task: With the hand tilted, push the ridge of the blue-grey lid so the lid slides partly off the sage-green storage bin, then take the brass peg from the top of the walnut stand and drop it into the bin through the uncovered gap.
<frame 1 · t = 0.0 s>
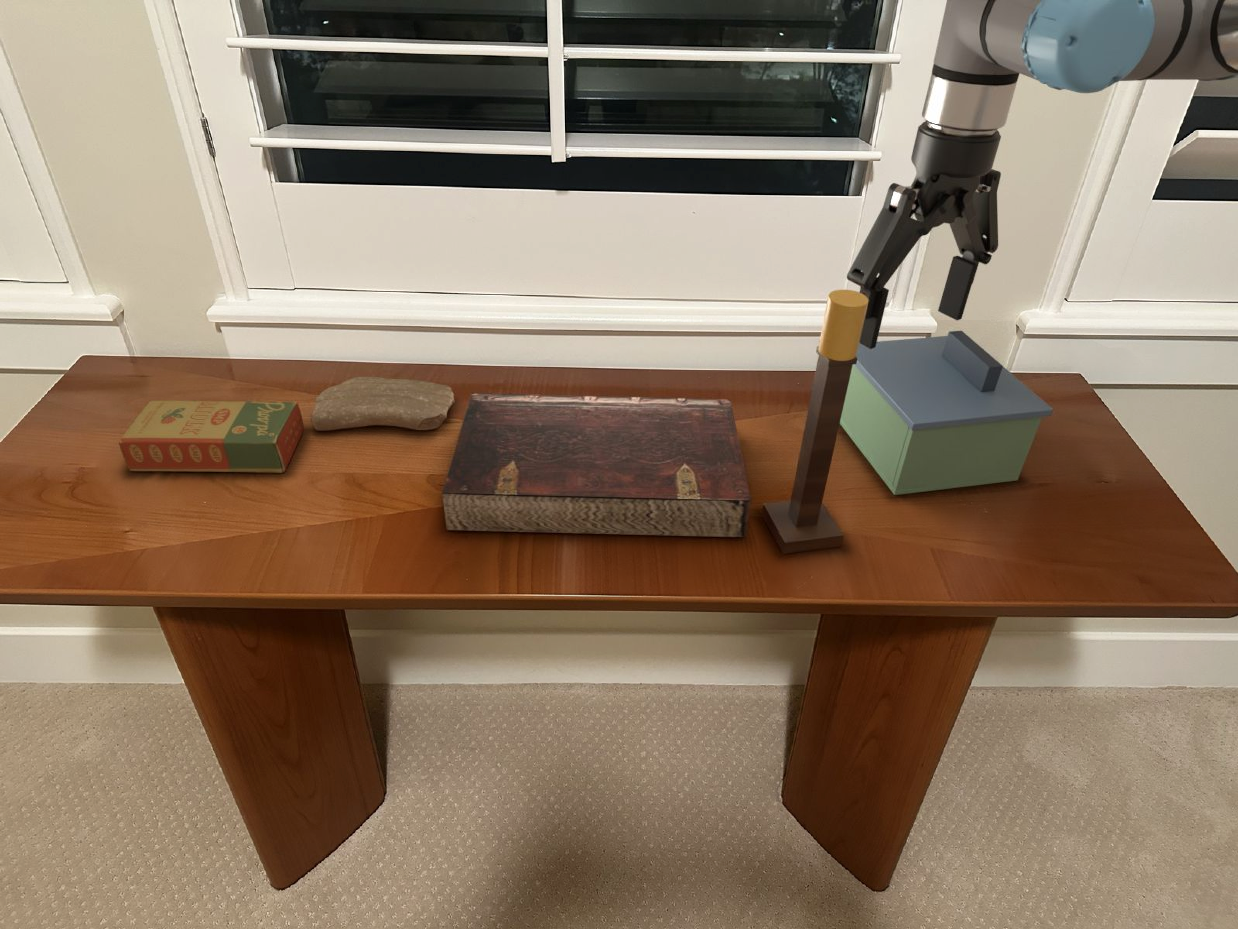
hand: (907, 328, 91), 12 cm above the table, tool pointing down, fingers open, 13 cm apart
carton: (222, 452, 90), on the table
lid: (940, 381, 89), point 9 cm above the table, touching bin
stand: (800, 530, 82), on the table
decorative stone: (388, 416, 97), on the table
bin: (920, 446, 94), on the table
hardback book: (598, 479, 88), on the table
peg: (837, 351, 70), point 20 cm above the table, touching stand
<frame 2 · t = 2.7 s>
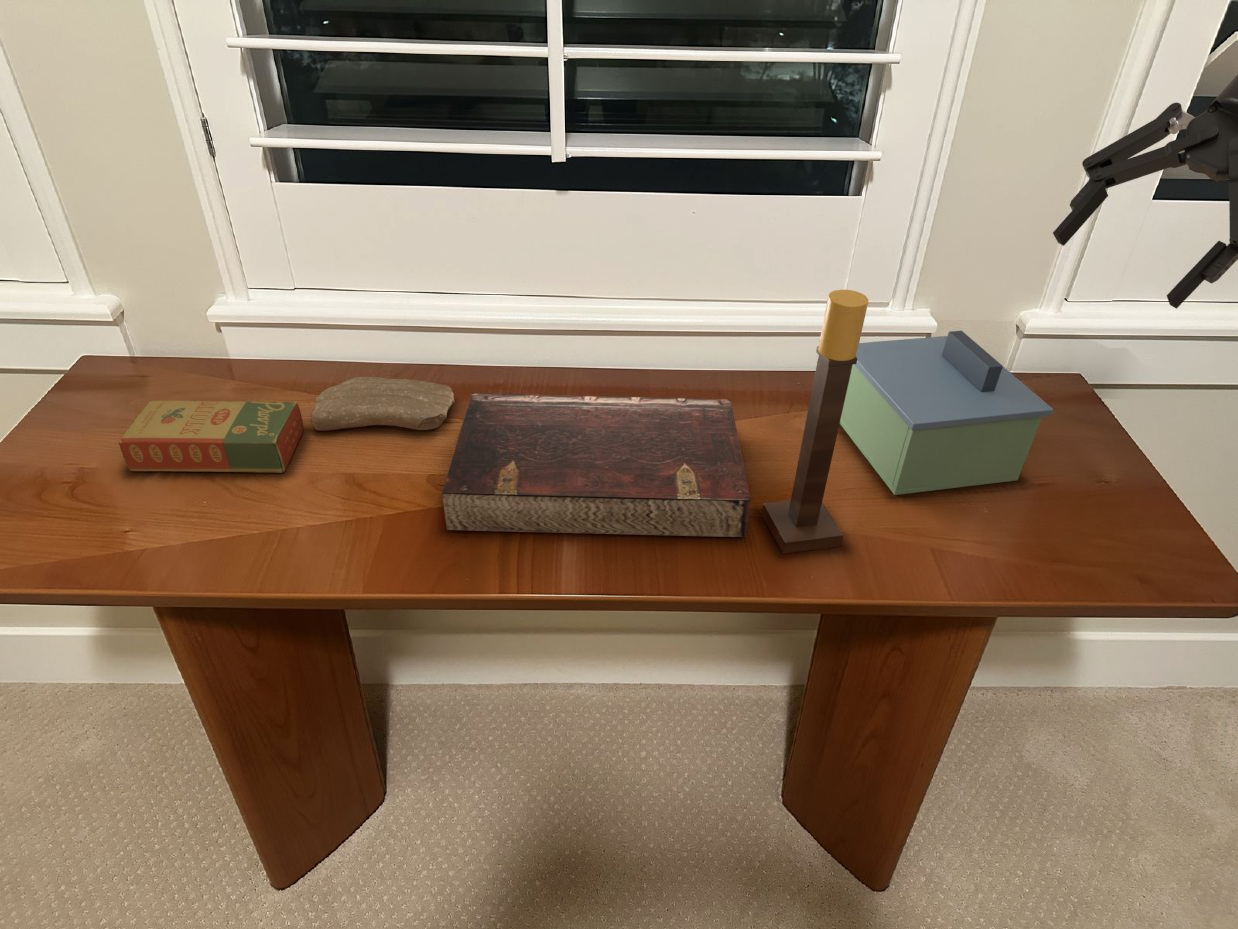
hand: (1111, 269, 86), 20 cm above the table, tool tilted 35°, fingers open, 13 cm apart
nothing on the table moved.
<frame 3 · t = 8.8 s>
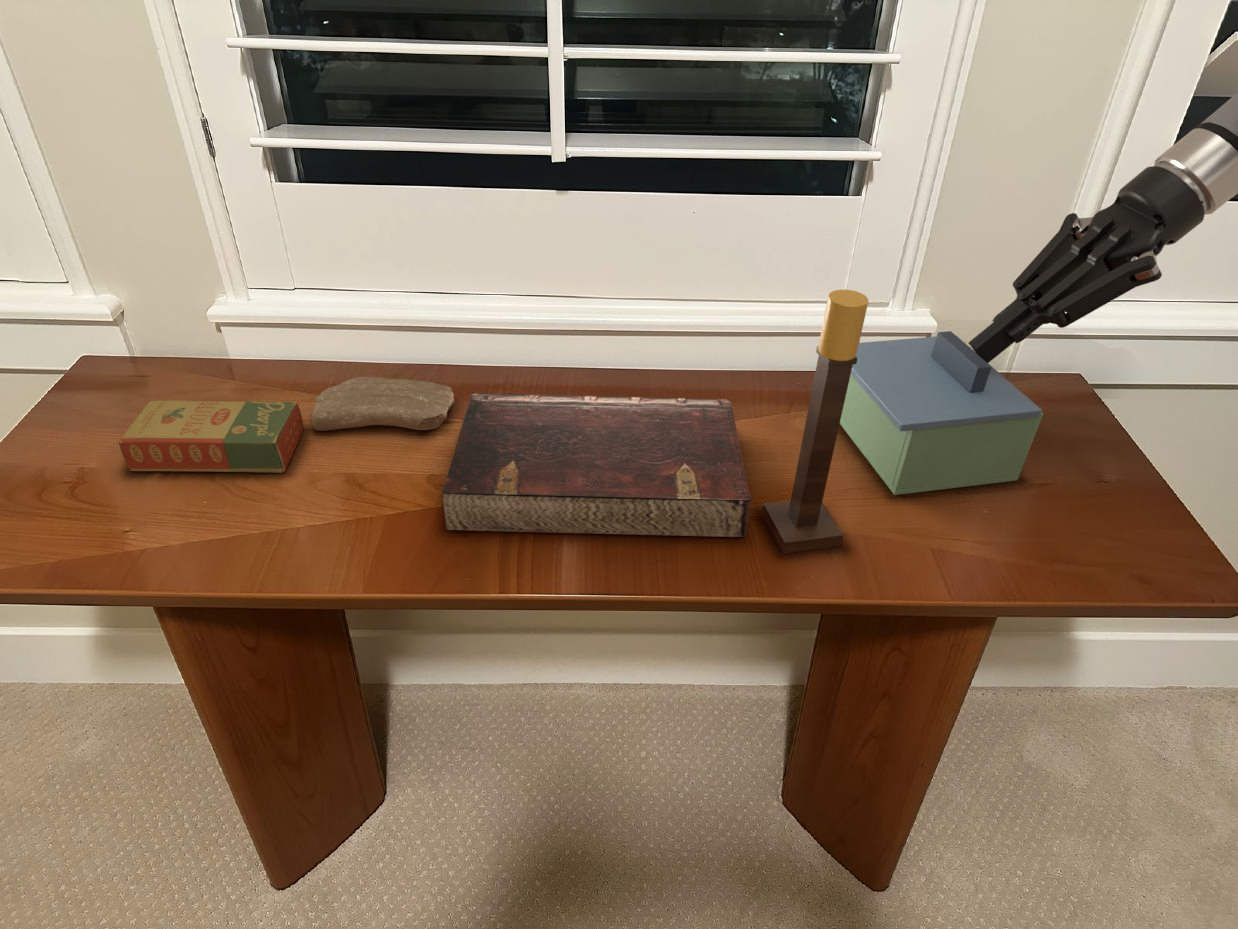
hand: (977, 353, 88), 12 cm above the table, tool tilted 45°, fingers closed
lid: (929, 382, 89), point 9 cm above the table, touching gripper
everything else where it was.
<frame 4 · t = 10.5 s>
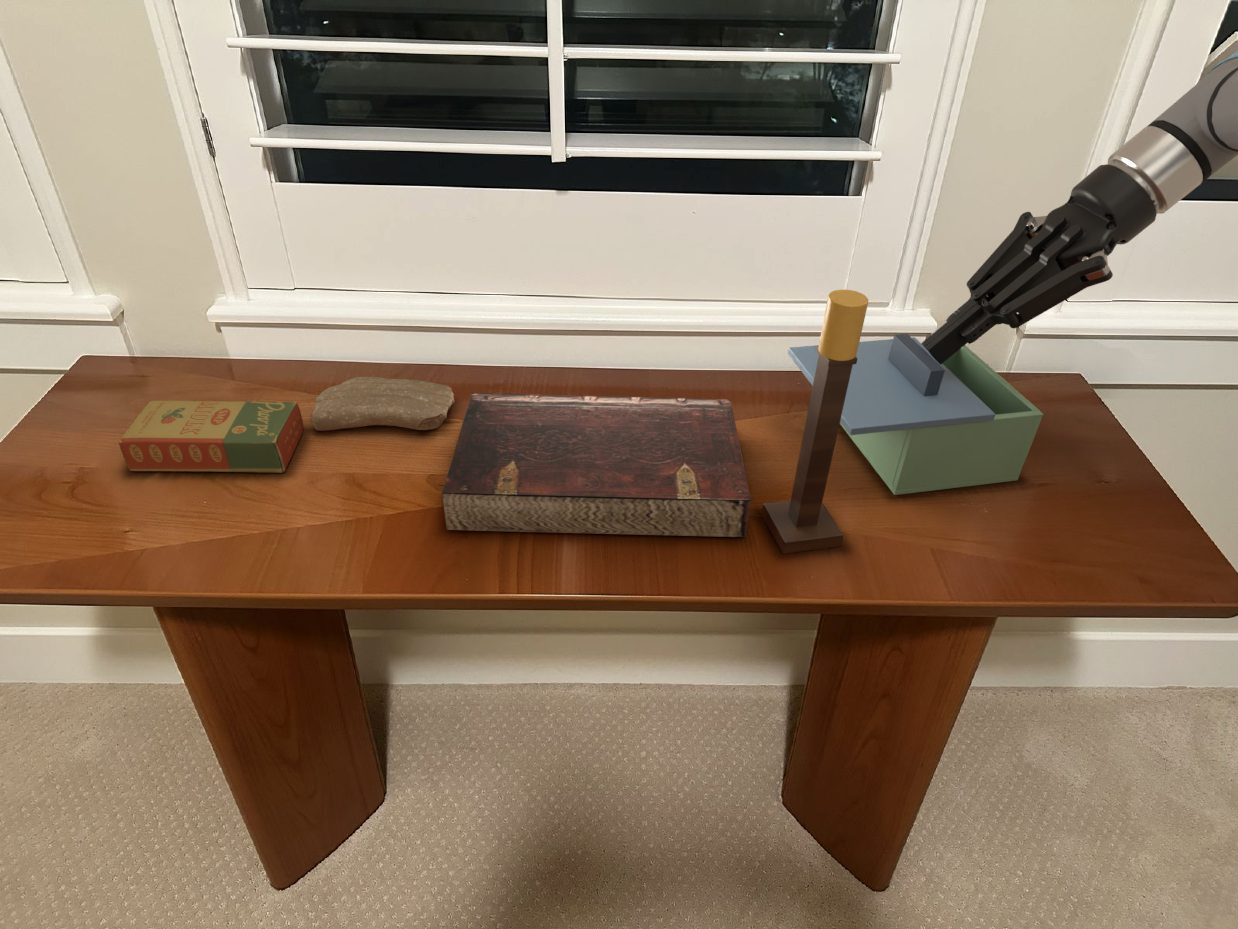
hand: (931, 353, 87), 12 cm above the table, tool tilted 45°, fingers closed
lid: (884, 385, 88), point 9 cm above the table, touching bin, gripper
everything else where it was.
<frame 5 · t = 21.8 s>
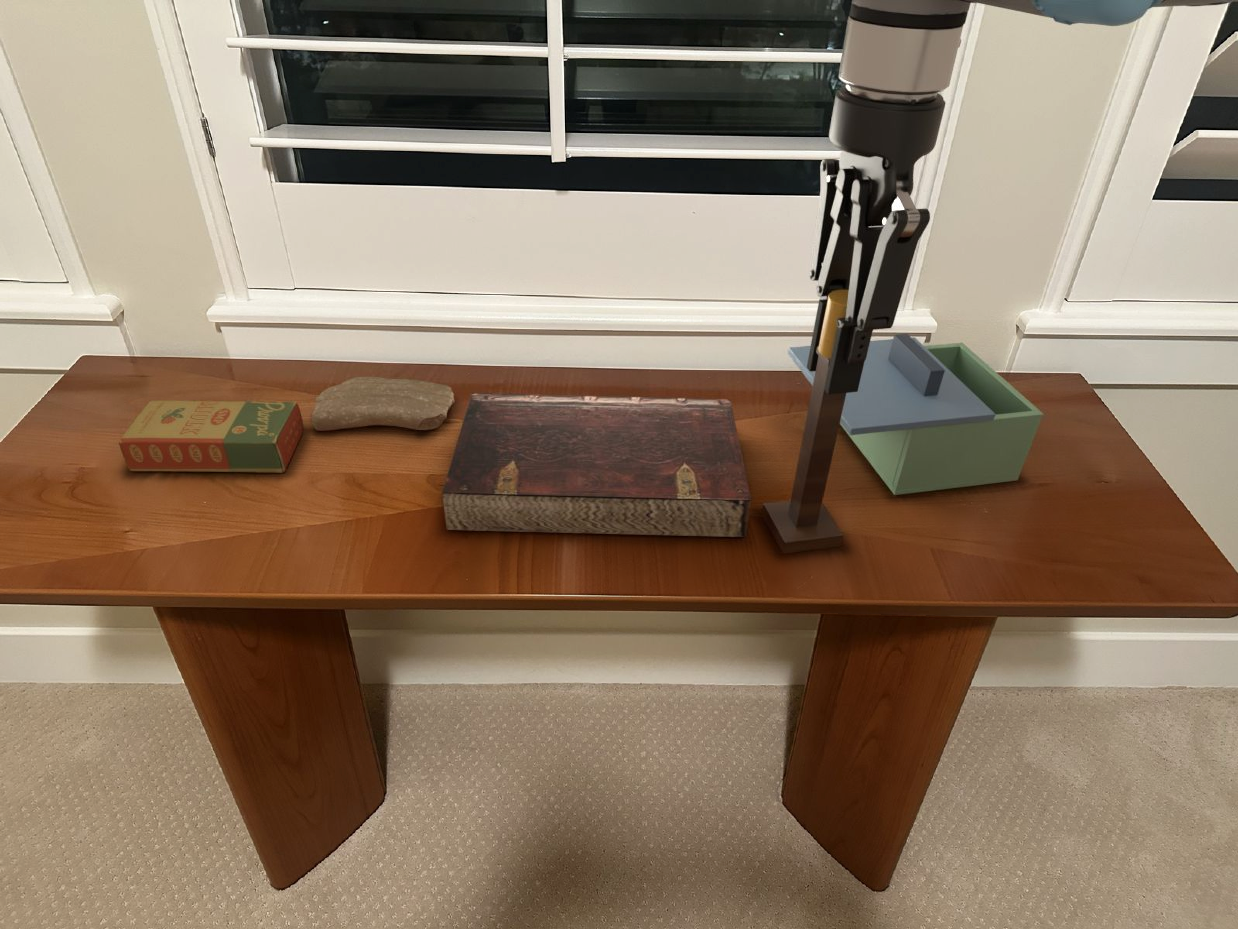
hand: (831, 378, 72), 17 cm above the table, tool pointing down, fingers closed on peg, 3 cm apart
lid: (884, 385, 88), point 9 cm above the table, touching bin
peg: (837, 351, 70), point 20 cm above the table, touching gripper, stand
everything else where it was.
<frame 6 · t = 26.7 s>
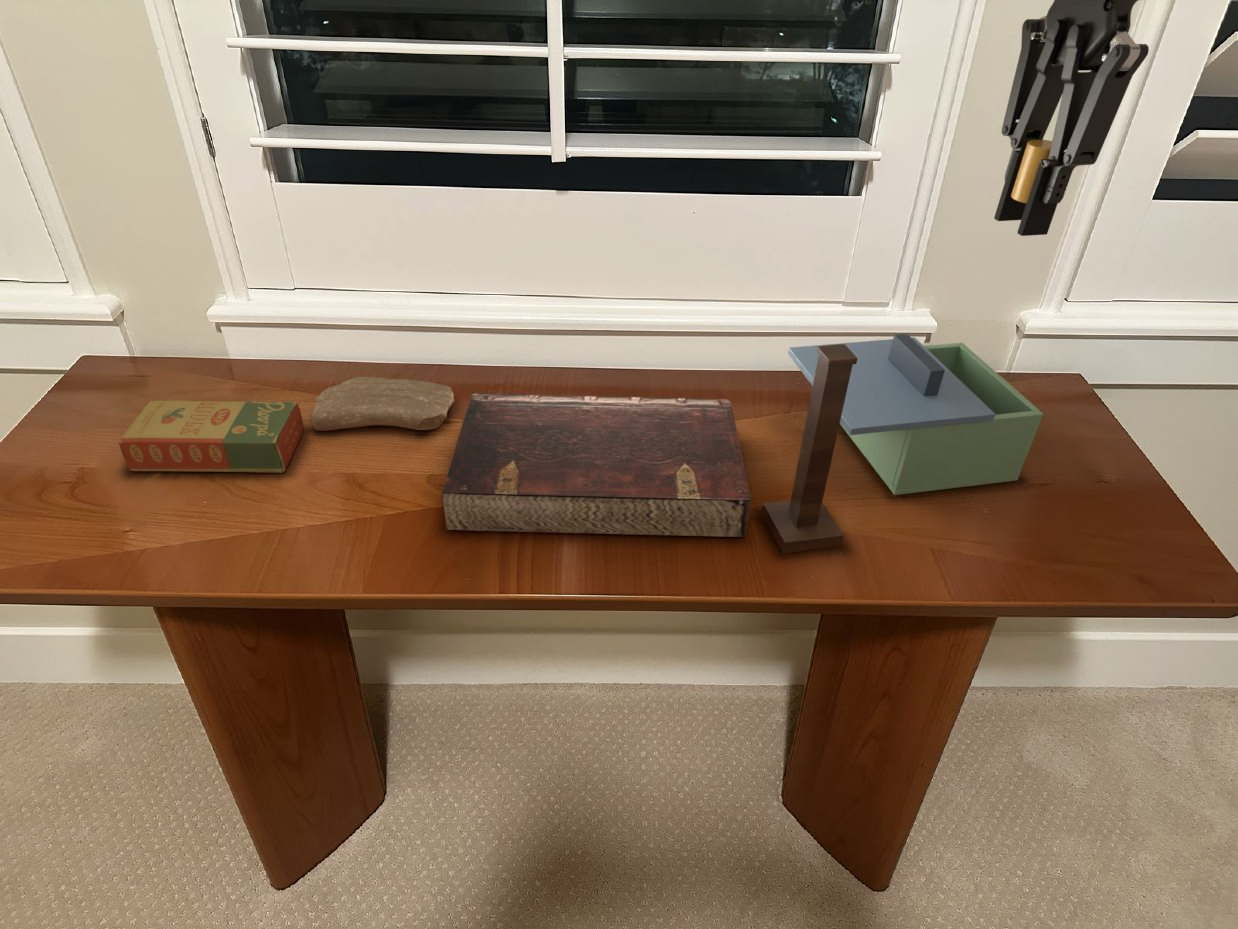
hand: (1020, 225, 80), 26 cm above the table, tool pointing down, fingers closed on peg, 3 cm apart
peg: (1028, 198, 78), point 28 cm above the table, touching gripper
everything else where it was.
when the fingers open (6 cm above the table, at t = 31.4 s): peg drops 8 cm, resting on bin.
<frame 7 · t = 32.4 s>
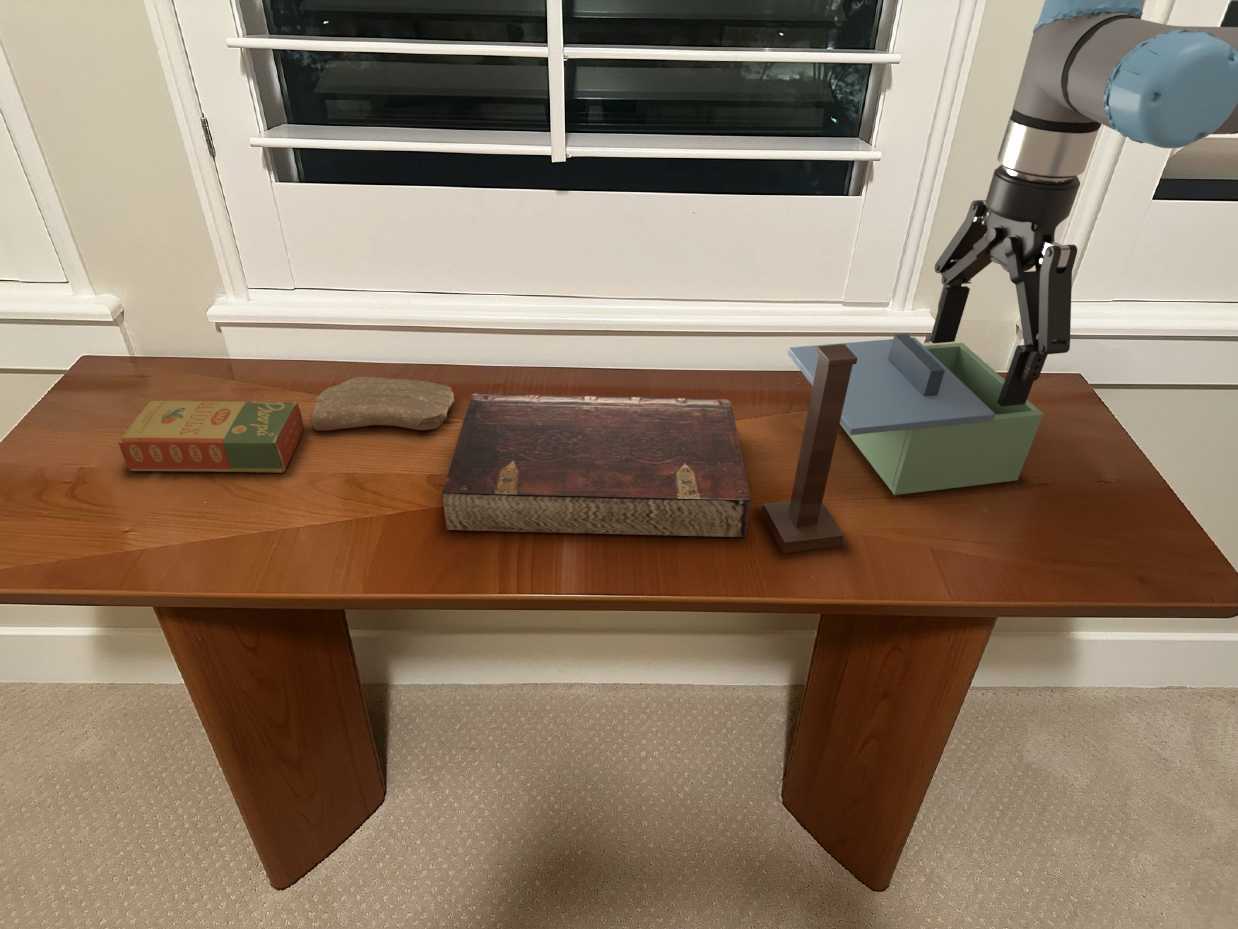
hand: (974, 370, 89), 10 cm above the table, tool pointing down, fingers open, 13 cm apart
peg: (952, 439, 95), point 1 cm above the table, touching bin
everything else where it was.
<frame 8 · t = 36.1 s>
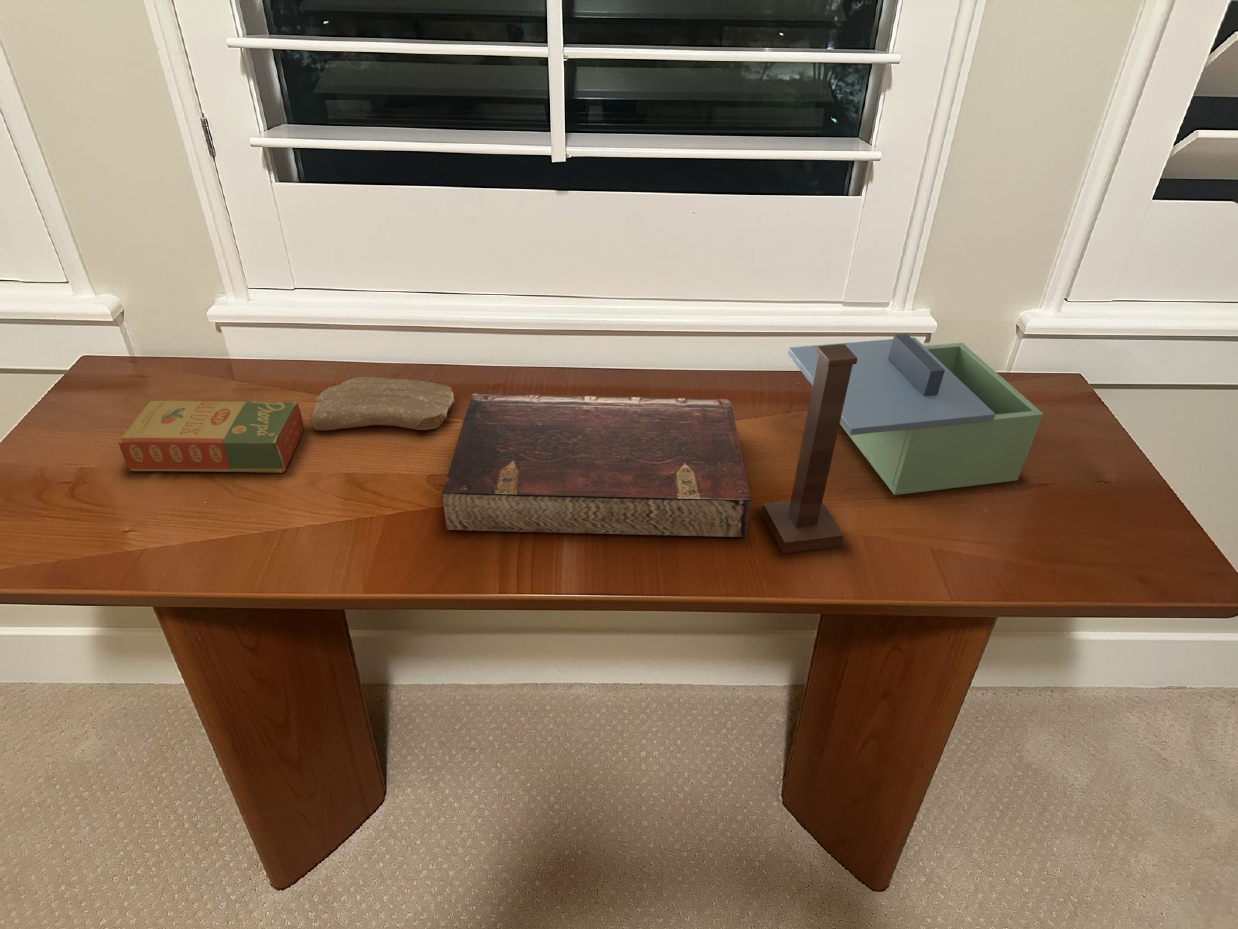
nothing on the table moved.
at the end: lid moved 6.4 cm from its start; lid inside the target area on the bin (6.4 cm from its centre), point 8.6 cm above the bin's base; peg inside the target area in the bin (3.8 cm from its centre), point 0.6 cm above the bin's base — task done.
